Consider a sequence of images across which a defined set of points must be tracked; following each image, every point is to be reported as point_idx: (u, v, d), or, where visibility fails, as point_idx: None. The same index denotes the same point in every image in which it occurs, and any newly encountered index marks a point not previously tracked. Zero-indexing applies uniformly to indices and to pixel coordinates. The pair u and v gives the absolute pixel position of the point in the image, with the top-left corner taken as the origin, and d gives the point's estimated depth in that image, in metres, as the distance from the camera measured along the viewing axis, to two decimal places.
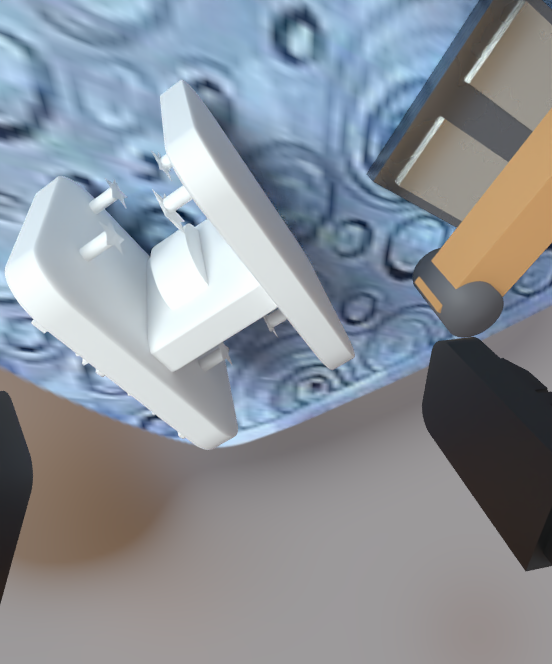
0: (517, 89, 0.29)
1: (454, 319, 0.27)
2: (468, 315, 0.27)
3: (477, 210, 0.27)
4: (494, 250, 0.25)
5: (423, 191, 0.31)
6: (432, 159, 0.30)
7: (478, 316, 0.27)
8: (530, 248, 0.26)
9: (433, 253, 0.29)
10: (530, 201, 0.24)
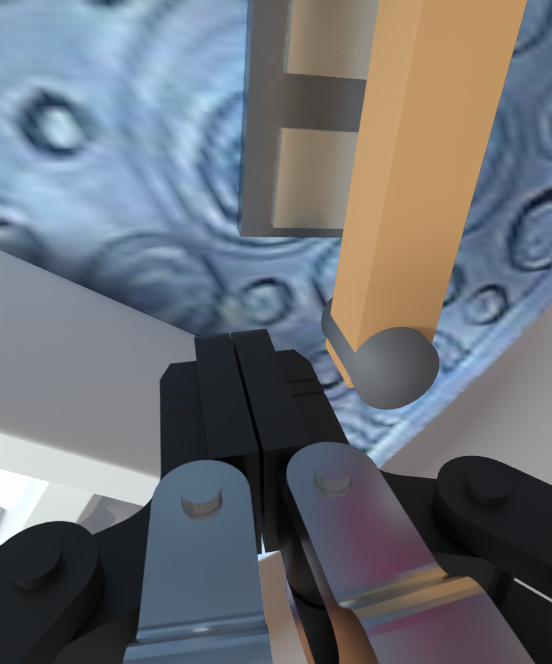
0: (359, 46, 0.20)
1: (372, 392, 0.18)
2: (389, 380, 0.18)
3: (347, 234, 0.19)
4: (375, 286, 0.17)
5: (311, 219, 0.24)
6: (298, 180, 0.23)
7: (406, 375, 0.18)
8: (431, 261, 0.17)
9: (332, 302, 0.21)
10: (385, 206, 0.16)
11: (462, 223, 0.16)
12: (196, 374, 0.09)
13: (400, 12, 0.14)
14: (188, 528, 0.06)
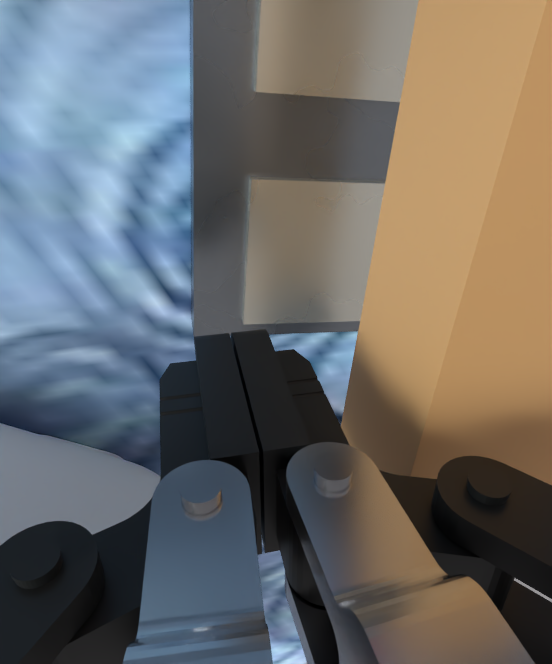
0: (376, 47, 0.12)
1: None
2: None
3: (358, 381, 0.10)
4: None
5: (300, 311, 0.16)
6: (278, 255, 0.15)
7: None
8: (523, 461, 0.09)
9: None
10: (440, 381, 0.07)
11: None
12: (196, 374, 0.09)
13: None
14: (189, 528, 0.06)
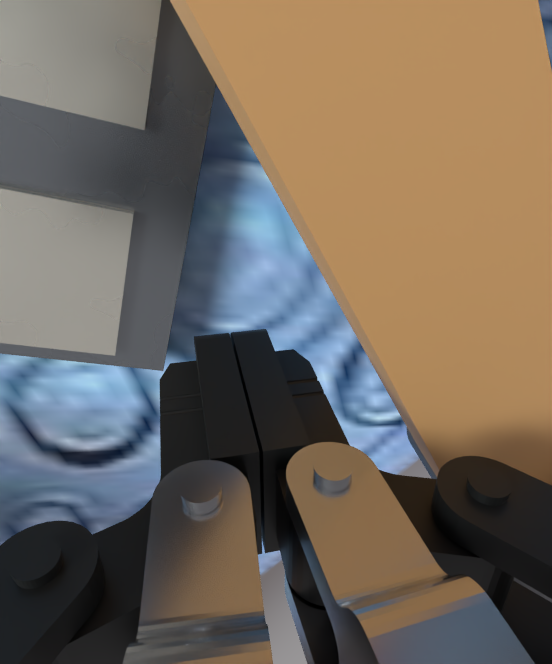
0: (5, 37, 0.11)
1: None
2: None
3: (368, 355, 0.10)
4: None
5: None
6: None
7: None
8: (551, 377, 0.08)
9: None
10: (386, 365, 0.07)
11: None
12: (197, 374, 0.09)
13: None
14: (189, 528, 0.06)
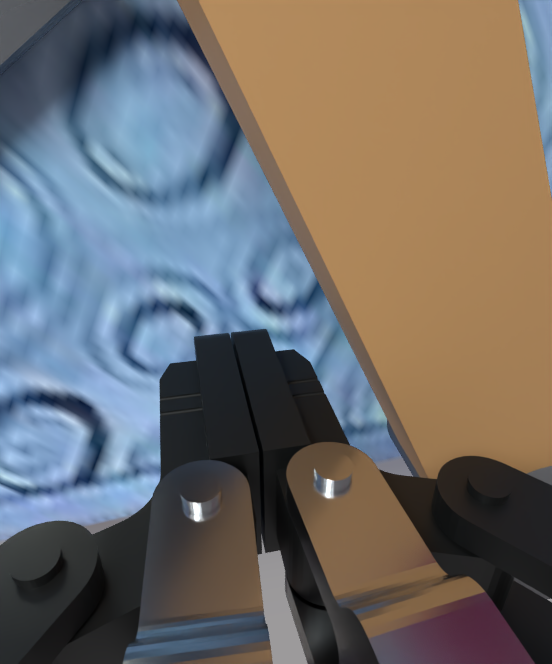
0: None
1: None
2: None
3: (352, 346, 0.10)
4: (435, 456, 0.09)
5: None
6: None
7: None
8: (525, 367, 0.08)
9: None
10: (369, 348, 0.07)
11: None
12: (196, 374, 0.09)
13: None
14: (188, 528, 0.06)
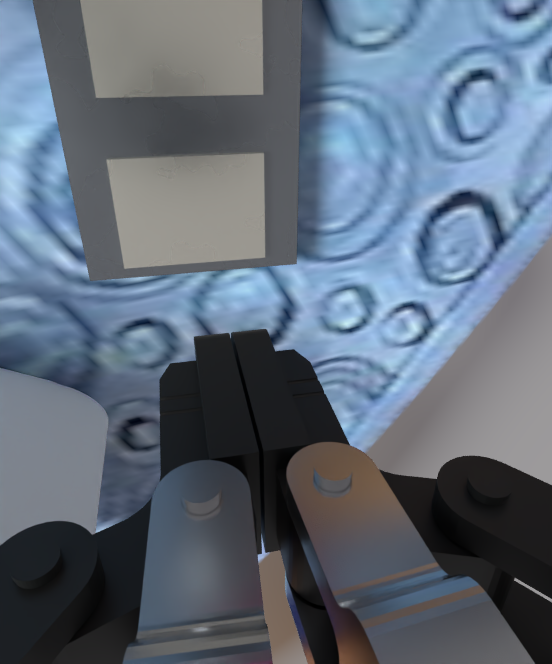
0: (177, 59, 0.18)
1: None
2: None
3: None
4: None
5: (166, 256, 0.21)
6: (139, 214, 0.20)
7: None
8: None
9: None
10: None
11: None
12: (196, 374, 0.09)
13: None
14: (188, 528, 0.06)
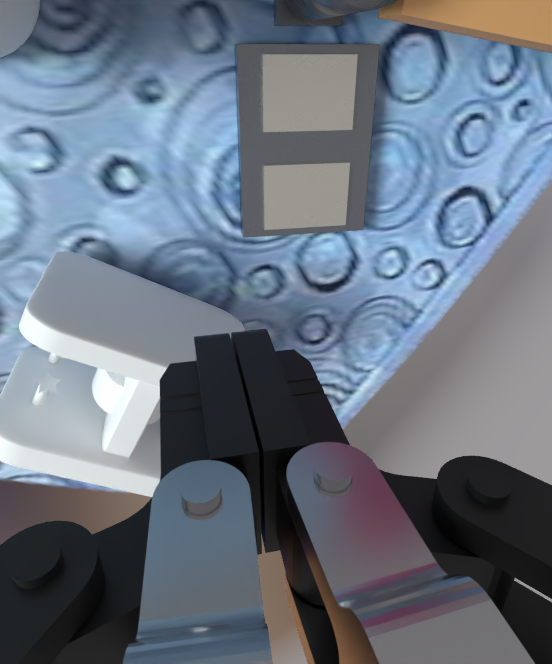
0: (308, 111, 0.32)
1: None
2: None
3: (551, 51, 0.28)
4: None
5: (289, 222, 0.36)
6: (277, 197, 0.35)
7: None
8: None
9: None
10: None
11: None
12: (196, 374, 0.09)
13: (453, 28, 0.25)
14: (188, 528, 0.06)
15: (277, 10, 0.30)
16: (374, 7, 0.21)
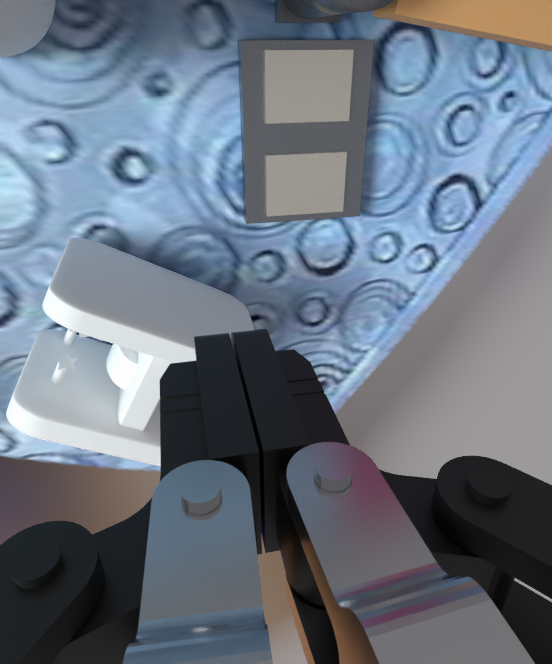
0: (307, 103, 0.34)
1: None
2: None
3: (533, 47, 0.30)
4: None
5: (289, 209, 0.38)
6: (278, 185, 0.37)
7: None
8: None
9: None
10: (536, 41, 0.28)
11: None
12: (196, 374, 0.09)
13: (442, 26, 0.27)
14: (188, 528, 0.06)
15: (278, 8, 0.32)
16: (370, 9, 0.23)
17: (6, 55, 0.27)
